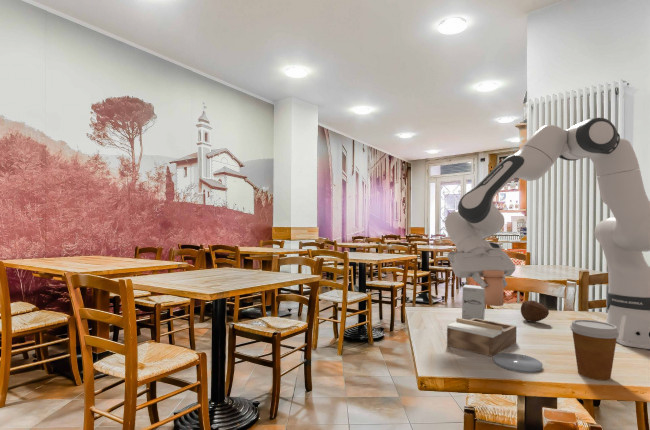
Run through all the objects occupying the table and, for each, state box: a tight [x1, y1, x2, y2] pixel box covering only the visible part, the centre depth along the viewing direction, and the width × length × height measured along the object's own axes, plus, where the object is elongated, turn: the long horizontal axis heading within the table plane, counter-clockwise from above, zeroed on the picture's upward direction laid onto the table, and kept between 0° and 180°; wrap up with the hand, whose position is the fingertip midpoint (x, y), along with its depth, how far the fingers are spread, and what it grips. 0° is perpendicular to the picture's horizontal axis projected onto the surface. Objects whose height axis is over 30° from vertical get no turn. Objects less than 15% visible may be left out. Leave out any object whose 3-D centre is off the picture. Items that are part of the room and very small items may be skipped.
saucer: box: [493, 352, 543, 374], centre depth 96 cm, size 11×11×1 cm
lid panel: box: [446, 317, 502, 338], centre depth 108 cm, size 13×7×2 cm, turn 45°
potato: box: [520, 299, 550, 323], centre depth 140 cm, size 7×10×8 cm
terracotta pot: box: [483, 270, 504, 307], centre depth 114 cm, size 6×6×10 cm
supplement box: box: [461, 284, 486, 320], centre depth 141 cm, size 7×7×13 cm
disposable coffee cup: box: [569, 319, 619, 381], centre depth 90 cm, size 10×10×12 cm
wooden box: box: [446, 318, 517, 358], centre depth 112 cm, size 13×18×5 cm
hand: (495, 286), depth 113 cm, fingers closed on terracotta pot, 5 cm apart
